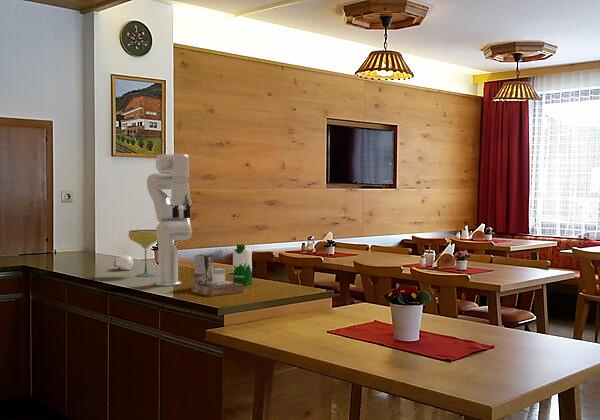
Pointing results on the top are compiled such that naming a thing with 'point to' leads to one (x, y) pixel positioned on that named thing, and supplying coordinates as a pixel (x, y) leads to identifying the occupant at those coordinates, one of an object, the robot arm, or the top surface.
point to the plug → (219, 275)
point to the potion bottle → (124, 262)
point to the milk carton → (242, 265)
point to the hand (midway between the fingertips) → (181, 217)
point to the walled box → (217, 289)
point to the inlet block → (218, 284)
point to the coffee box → (203, 268)
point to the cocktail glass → (144, 243)
